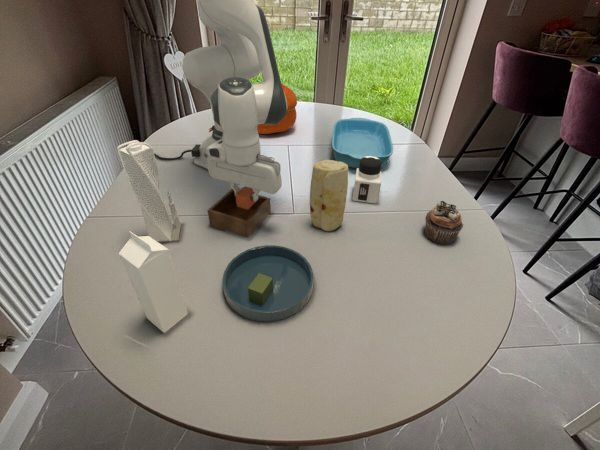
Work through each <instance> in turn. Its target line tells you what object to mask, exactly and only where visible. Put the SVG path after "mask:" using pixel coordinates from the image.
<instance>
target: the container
mask: <svg viewBox="0 0 600 450" xmlns="http://www.w3.org/2000/svg"><path fill="white" fill-rule="evenodd" d="M381 166H382V162H381V160H380V159H379V158H376V157H373V156H366V157H363V158H362V159H361V160H360V164H359V168H356V171H355V178H354V186H353V191H352V199H351V200H352V201H354V202H361V203H369V204H378V202H379V201H378V200H379V197H380V191H381V190H380V189H381V185H382V167H383V166H382V167H381Z"/></svg>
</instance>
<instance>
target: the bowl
mask: <svg viewBox="0 0 600 450" xmlns="http://www.w3.org/2000/svg"><path fill="white" fill-rule="evenodd" d="M259 273H260V274H263V275H266V276H269V277H271V278H273V291H272V293H271V294H270V296H269V297H268V299H267V300H266V302H265V303H264V305H260V304H258V303H255V302H253V301H250V300H249V294H248V287H249V286H250V284H251V283H252V282H253V280H254V279H255V278H256V276H257V275H258V274H259ZM314 278H315V277H314V270H313V268H312V265H311V264H310V262H309V261H308V259H307V258H306V257H305V256H303V255H302V254H301V253H300V252H298V251H296V250H295V249H292V248H289V247H287V246H281V245H268V244H267V245H266V244H265V245H260V246H259V245H258V246H254V247H252V248H249V249H246V250H244V251H242V252H240V253H239V254H237V255H236V256H234V257H233V258H232V260H231V261H230V262H229V263H228V264H227V266H226V267H225V269H224V271H223V275H222V280H221V281H222V289H223V294H224V298H225V300H226V302H227V304H228V305H229V307H230V308H231V309H232V310H233V311H234V312H235V313H237V314H238V315H240V316H241V317H244V318H245V319H248V320H252V321H256V322H265V323H266V322H276V321H280V320H285V319H287V318H290V317H292V316H294V315H295V314H297V313H298V312H300V311H301V310H302V309H303V308H304V307H305V306H306V304H308V302H309V301H310V299H311V296H312V294H313V289H314Z"/></svg>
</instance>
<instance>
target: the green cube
mask: <svg viewBox="0 0 600 450" xmlns="http://www.w3.org/2000/svg"><path fill="white" fill-rule="evenodd" d="M272 291H273V278H271V277H269V276H266V275H263V274H260V273H259V274H258V275H257V276H256V278H255V279H254V280H253V282H252V283H251V284H250V286H249V287H248V294H249V300H250V301H253V302H255V303H258V304H260V305H264V303H265V302H266V300H267V299H268V297H269V296H270V294H271V293H272Z"/></svg>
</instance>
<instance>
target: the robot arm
mask: <svg viewBox="0 0 600 450" xmlns="http://www.w3.org/2000/svg"><path fill="white" fill-rule="evenodd" d="M196 3H197V4H196V5H197V11H198V12H197V13H198V17H199V19H200V21H201V23H202V24H203V25H204V26H205V28H207V29H209V30H211V31H212V32H214V33H215V34H216V35H217V37H218V41H219V44H217V45H208V46H200V47H198V48H195V49H192V50H191V51H188V52H186V53H185V55H184V56H183V59H182V73H183V75H184V77H185V79H186V81H187V82H188V83H189V84H190V85H191V86H192V87H194V88H195V89H197V90H198V91H200V92H201V93H202V94H203V95H204V96H205V98H206V99H207V101H208V102H209V105H210V108H211V114H212V117H213V122H214V124H213V125H212V126H211V127H210V128H208V133H211V135H210V136H209V137H207V138H206V139H205V140H204V141H202V142H201V144H197V143H196V144H195V145H194V146H193V147H192V149H186V150H184V151H182V152H181V154H180V155H179V156H176V157H162V156H159V155H158V154H156V153H155V152H154V155H155V158H157V159H159V160H163V161H164V160H165V161H174V160H175V161H176V160H180V159H182V158H183V157H184V155H186V153H191V157H192V158H194V159H193V164H194V165H196V166H199V167H201V168H204V169H206V170H207V171H208V174H209V175H210V177H211V178H212V179H215V180H218V181H219V180H220V181H223V182H227V183H229V186H230V188H231V189H233V190H234V192H235V196H236V193H237V192H239V191H240V190H241V189H242V188H240V186H241V187H244V186H245V187H249V188H252V189H253V191H254V192H255V193H254V192H253V193H252V194H251V195H250V198H251V199H250V200H251V201H255V202H256V201H257V200H258V195H259V194H260V192H264V193H267V194H271V195H275V194H277V193H278V192H279V191H280V190H281V189H282V186H283V181H282V174H281V163H280V162H278V160H276V158H274V157H271V156H267V155H263V154H261V143H260V142H261V141H260V135H259V133H258V132H257V126H258V124H265V125H276V124H278V123H279V122H280V121H281V120H282V119H283V118H284V117H285V115H286V114H287V100H286V96H285V93H284V90H283V87H282V84H283V83H282V80H281V77H280V76H281V75H280V72H279V67H278V62H277V58H276V54H275V50H274V46H273V41H272V37H271V33H270V29H269V25H268V20H267V18H266V15H265V12H264V11H263V9H262V7H260V6H258V5H257V4H255V3H256V2H254V0H196ZM260 74H261V77H262V81H261V82H260V83H252V82H251V81H250V80H251V79H253V78H255V77H257V76H259V75H260Z"/></svg>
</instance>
